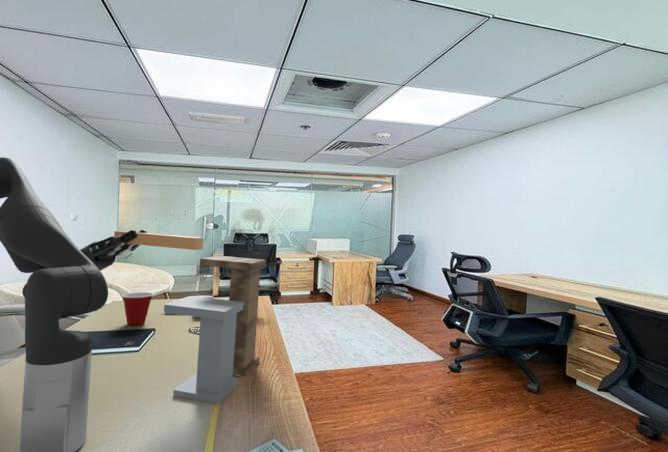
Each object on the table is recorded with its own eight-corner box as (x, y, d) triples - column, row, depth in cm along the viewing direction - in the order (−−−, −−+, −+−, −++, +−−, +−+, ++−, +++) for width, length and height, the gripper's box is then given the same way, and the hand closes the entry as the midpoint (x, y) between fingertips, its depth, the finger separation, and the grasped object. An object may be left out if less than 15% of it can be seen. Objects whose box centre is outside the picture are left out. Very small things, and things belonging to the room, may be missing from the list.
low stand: (238, 383, 85) (243, 302, 85) (218, 404, 75) (224, 311, 75) (184, 374, 88) (189, 295, 87) (158, 393, 78) (164, 304, 78)
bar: (202, 249, 83) (203, 237, 83) (195, 250, 80) (196, 238, 80) (123, 241, 87) (123, 231, 87) (113, 242, 84) (114, 231, 84)
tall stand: (259, 361, 99) (265, 259, 99) (244, 376, 89) (252, 263, 89) (211, 354, 101) (218, 255, 101) (193, 368, 91) (200, 258, 91)
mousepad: (214, 328, 127) (214, 326, 127) (212, 335, 119) (212, 333, 119) (189, 328, 124) (189, 327, 124) (185, 335, 117) (186, 334, 117)
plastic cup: (151, 318, 132) (152, 289, 132) (152, 326, 123) (154, 295, 123) (119, 321, 126) (121, 291, 126) (119, 329, 117) (121, 297, 117)
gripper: (59, 249, 80) (112, 219, 78) (107, 246, 94) (154, 220, 92) (70, 276, 80) (124, 247, 77) (117, 269, 94) (164, 244, 91)
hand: (140, 233), depth 84 cm, fingers closed on bar, 3 cm apart
